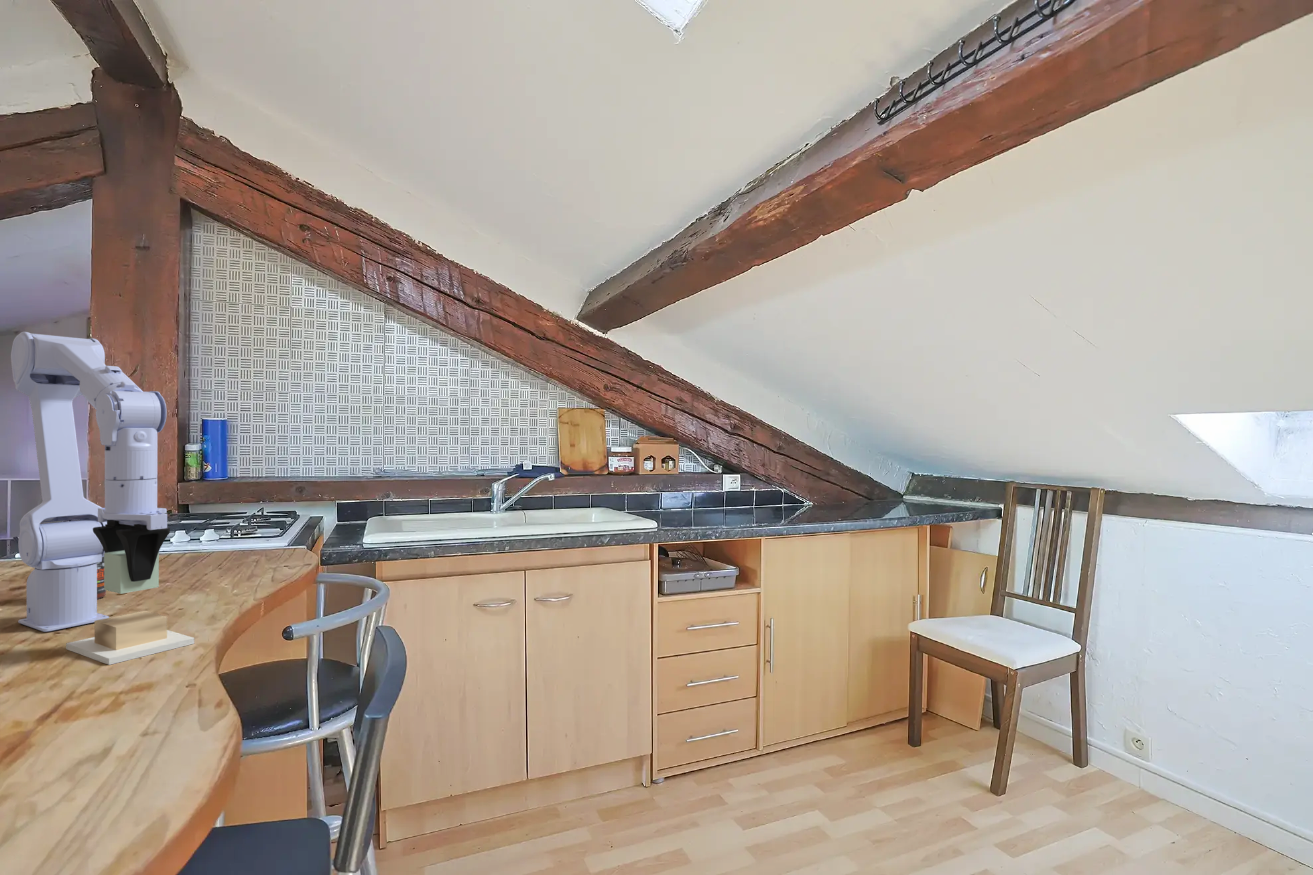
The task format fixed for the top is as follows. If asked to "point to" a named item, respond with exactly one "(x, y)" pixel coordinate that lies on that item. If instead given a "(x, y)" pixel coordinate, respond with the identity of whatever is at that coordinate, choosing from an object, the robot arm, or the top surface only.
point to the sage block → (125, 574)
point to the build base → (130, 651)
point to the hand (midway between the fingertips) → (131, 578)
